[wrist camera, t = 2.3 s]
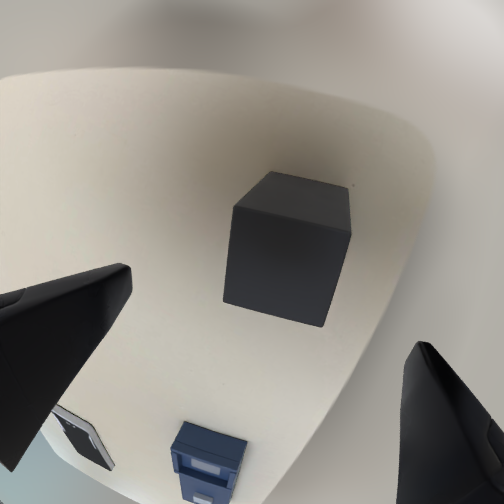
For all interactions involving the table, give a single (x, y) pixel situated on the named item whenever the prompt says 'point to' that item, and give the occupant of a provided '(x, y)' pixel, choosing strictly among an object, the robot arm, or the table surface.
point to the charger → (288, 248)
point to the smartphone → (83, 437)
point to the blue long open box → (206, 464)
